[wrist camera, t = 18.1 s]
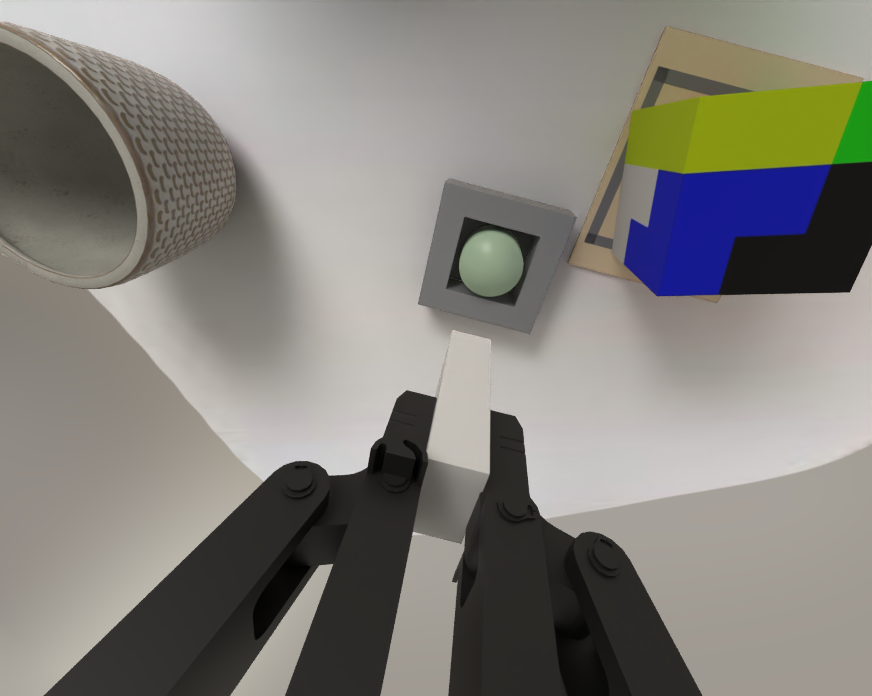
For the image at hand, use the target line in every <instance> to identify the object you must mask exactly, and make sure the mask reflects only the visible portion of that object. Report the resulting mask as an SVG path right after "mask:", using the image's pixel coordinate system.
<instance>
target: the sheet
mask: <svg viewBox="0 0 872 696" xmlns="http://www.w3.org/2000/svg"><path fill="white" fill-rule="evenodd" d="M862 80H863V78H861V77H857V76H853V75H849V74H846V73H842V72H838V71H834V70H831V69H827V68H823V67H819V66H815V65H812V64H808V63H804V62H800V61H796V60H793V59H789V58H785V57H781V56H777V55H774V54H770V53H766V52H762V51H759V50H755V49H751V48H747V47H743V46H740V45H736V44H732V43H728V42H724V41H721V40H717V39H713V38H709V37H705V36H702V35H698V34H694V33H690V32H687V31H683V30H679V29H675V28H671V27H668V26H667V27H665V29H664V31H663V34H662V36H661V39H660V41H659V44H658V46H657V48H656V51H655V53H654V56H653V58H652V60H651V63H650V65H649V68H648V70H647V73H646V75H645V77H644V80H643V82H642V85H641V87H640V89H639V92H638V94H637V97H636V99H635V102H634V104H633V106H632V109H631V111H630V114H629V116H628V118H627V121H626V123H625V126H624V128H623V131H622V133H621V135H620V138H619V140H618V143H617V145H616V147H615V150H614V152H613V155H612V157H611V160H610V162H609V164H608V167H607V169H606V172H605V174H604V176H603V179H602V181H601V184H600V186H599V189H598V191H597V193H596V196H595V198H594V201H593V203H592V205H591V208H590V210H589V213H588V215H587V218H586V220H585V222H584V225H583V227H582V230H581V232H580V234H579V237H578V239H577V242H576V244H575V247H574V249H573V251H572V254H571V256H570V259H569V261H568V264H572V265H576V266H579V267H583V268H587V269H591V270H594V271H598V272H602V273H606V274H609V275H613V276H617V277H621V278H624V279H628V280H632V281H636V282H640V283H643V282H642V281H641V280H639V279H638V278H637V277H636V276H635V275H634V274H633V273H632V272H631V271H630V270H629V269H628V268H627V267H626V266H625V265H624V264H623V263H622V262H620V261H619V260H618V259H617V258H616V257H615V256H614V255H613V254H612V253H611V252H612V245H613V239H614V232H615V225H616V218H617V211H618V204H619V197H620V191H621V184H622V177H623V170H624V163H625V156H626V150H627V143H628V136H629V129H630V122H631V115H632V111H633V110H638V109H643V108H648V107H653V106H657V105H662V104H667V103H672V102H676V101H681V100H686V99H691V98H696V97H701V96H712V95H723V94H734V93H745V92H756V91H767V90H778V89H789V88H800V87H811V86H822V85H833V84H844V83H855V82H861V81H862ZM643 284H644V283H643ZM721 296H722V295H693V296H692V297H696V298H700V299H704V300H707V301H711V302H715V303H717V302H718V300H719V299H720V297H721Z"/></svg>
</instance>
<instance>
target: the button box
mask: <svg viewBox="0 0 872 696" xmlns="http://www.w3.org/2000/svg"><path fill="white" fill-rule="evenodd" d="M465 217H468V218H471V219H475V220H479V221H483V222H486V223H490V224H494V225H498V226H501V227H505V228H509V229H513V230H517V231H520V232H524V233H528V234H532V235H534V237H533V240H532V243H531V246H530V249H529V251H528V254H527V257H526V260H525V263H524V266H523V272H522V275H521V277H520V279H519V281H518V283H517V285H516V288H515V291H514V294H509V293H504V294H502V295H499V296H494V297H487V296H482V295H479V294H476V293H474V292H473V291H471V290H470V289H469V288H468V287H467V286H466V285H465V284H464V282H463V281H460V280H456V279H452V278H449V277H450V273H451V269H452V265H453V261H454V257H455V254H456V250H457V246H458V242H459V238H460V234H461V230H462V226H463V222H464V219H465ZM575 220H576V216H575V215H574V214H573V213H572V212H571V211H569V210H566V209H562V208H558V207H554V206H551V205H547V204H543V203H539V202H536V201H532V200H528V199H524V198H521V197H517V196H513V195H509V194H505V193H502V192H498V191H494V190H490V189H487V188H483V187H479V186H475V185H471V184H468V183H464V182H460V181H456V180H453V179H448V180H447V181H446V182H445V185H444V189H443V194H442V198H441V203H440V207H439V212H438V216H437V221H436V225H435V230H434V234H433V239H432V243H431V248H430V252H429V257H428V261H427V266H426V270H425V275H424V279H423V284H422V288H421V293H420V297H419V302H418V304H419V305H423V306H427V307H430V308H434V309H438V310H442V311H445V312H449V313H453V314H457V315H460V316H464V317H468V318H472V319H475V320H479V321H483V322H487V323H490V324H494V325H498V326H502V327H506V328H509V329H513V330H517V331H521V332H524V333H528V334H530V332H531V330H532V327H533V325H534V322H535V320H536V317H537V315H538V312H539V310H540V307H541V305H542V302H543V300H544V297H545V295H546V292H547V290H548V287H549V285H550V282H551V280H552V277H553V275H554V272H555V270H556V267H557V265H558V262H559V260H560V257H561V255H562V252H563V250H564V247H565V245H566V242H567V240H568V237H569V235H570V232H571V230H572V227H573V225H574V222H575Z"/></svg>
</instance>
